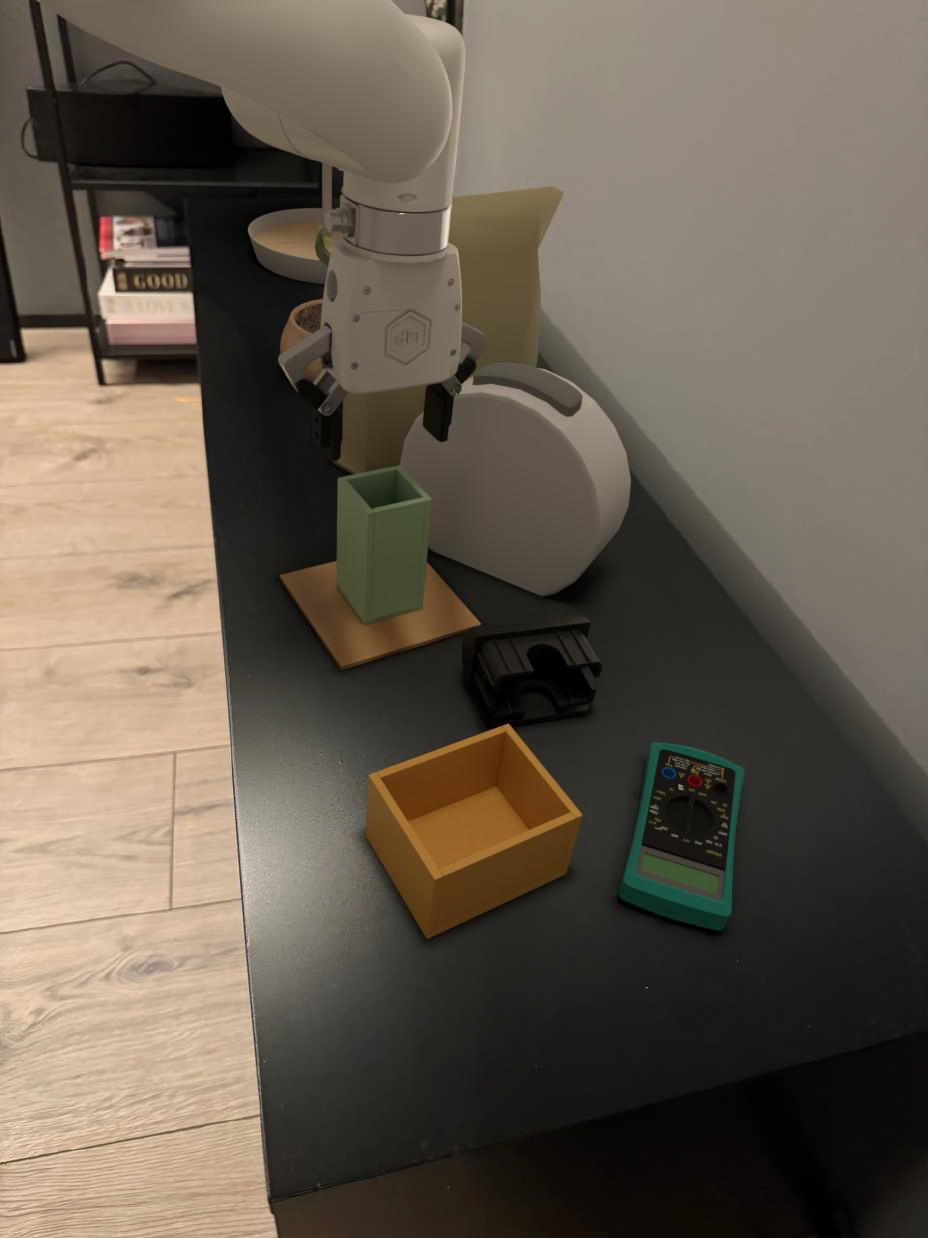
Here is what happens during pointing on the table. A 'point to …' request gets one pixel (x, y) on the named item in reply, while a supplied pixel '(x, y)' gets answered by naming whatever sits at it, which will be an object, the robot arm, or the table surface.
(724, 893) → the digital multimeter
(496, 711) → the end cap
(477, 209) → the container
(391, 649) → the cork mat
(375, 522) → the sage tub
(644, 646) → the table surface
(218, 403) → the table surface
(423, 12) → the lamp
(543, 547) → the alarm clock
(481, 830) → the ochre bin
